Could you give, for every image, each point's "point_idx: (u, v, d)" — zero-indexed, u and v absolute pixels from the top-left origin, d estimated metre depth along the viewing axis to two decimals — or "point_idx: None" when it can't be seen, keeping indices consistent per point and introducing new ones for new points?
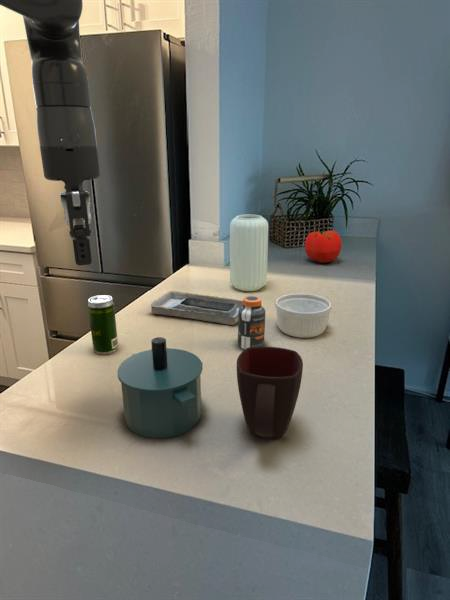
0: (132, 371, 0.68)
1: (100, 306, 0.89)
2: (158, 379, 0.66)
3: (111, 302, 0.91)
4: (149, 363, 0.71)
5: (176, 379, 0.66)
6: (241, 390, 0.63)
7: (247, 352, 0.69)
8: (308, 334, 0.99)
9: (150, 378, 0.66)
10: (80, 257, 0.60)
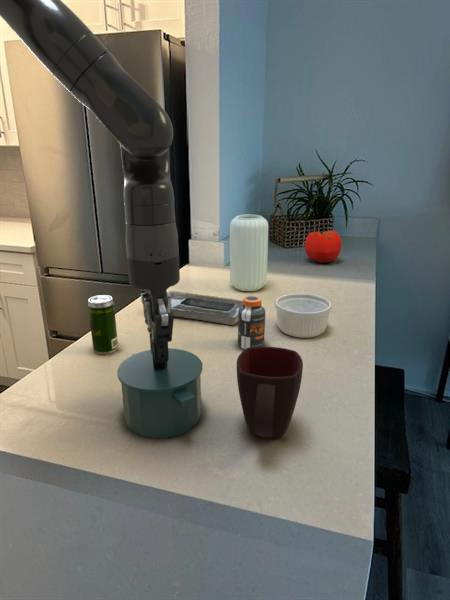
0: (132, 371, 0.68)
1: (100, 306, 0.89)
2: (158, 379, 0.66)
3: (111, 302, 0.91)
4: (149, 363, 0.71)
5: (176, 379, 0.66)
6: (241, 390, 0.63)
7: (247, 352, 0.69)
8: (308, 334, 0.99)
9: (150, 378, 0.66)
10: (160, 357, 0.66)
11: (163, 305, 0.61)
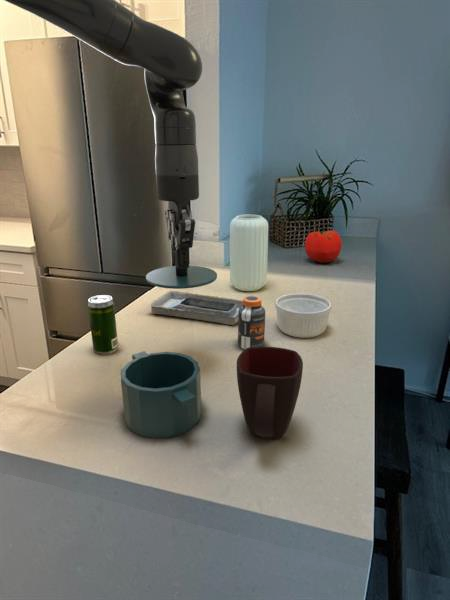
0: (158, 277, 0.81)
1: (100, 306, 0.89)
2: (181, 281, 0.79)
3: (111, 302, 0.91)
4: (172, 273, 0.84)
5: (196, 281, 0.79)
6: (241, 390, 0.63)
7: (247, 352, 0.69)
8: (308, 334, 0.99)
9: (174, 280, 0.79)
10: (182, 263, 0.79)
11: (186, 214, 0.74)
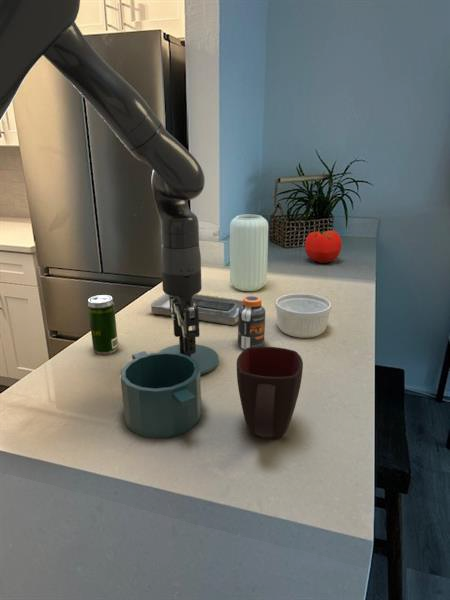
0: None
1: (100, 306, 0.89)
2: None
3: (111, 302, 0.91)
4: None
5: None
6: (241, 390, 0.63)
7: (247, 352, 0.69)
8: (308, 334, 0.99)
9: None
10: (189, 349, 0.83)
11: (189, 304, 0.80)
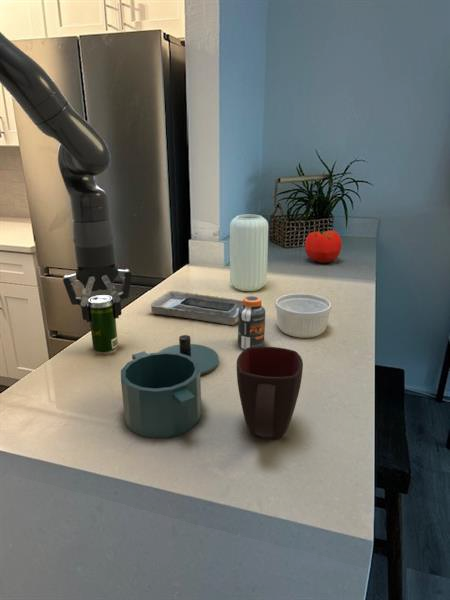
0: None
1: (100, 306, 0.89)
2: None
3: (111, 302, 0.91)
4: None
5: None
6: (241, 390, 0.63)
7: (247, 352, 0.69)
8: (308, 334, 0.99)
9: None
10: None
11: (74, 274, 0.87)
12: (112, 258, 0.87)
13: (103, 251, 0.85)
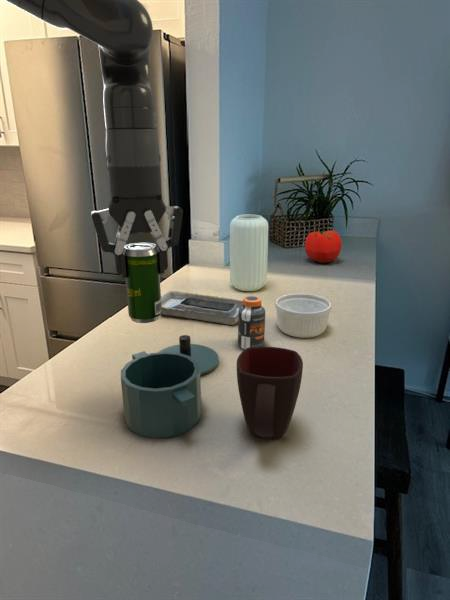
0: None
1: (142, 254, 0.65)
2: None
3: (155, 250, 0.67)
4: None
5: None
6: (241, 390, 0.63)
7: (247, 352, 0.69)
8: (308, 334, 0.99)
9: None
10: (116, 268, 0.67)
11: (107, 209, 0.63)
12: (159, 186, 0.63)
13: (149, 174, 0.61)
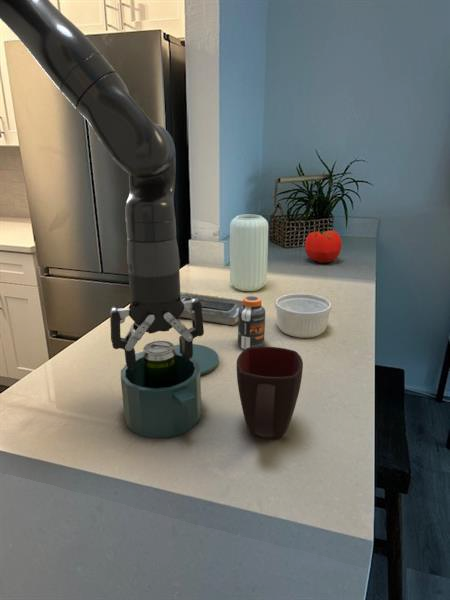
0: None
1: (161, 358, 0.66)
2: None
3: (173, 352, 0.68)
4: None
5: None
6: (241, 390, 0.63)
7: (247, 352, 0.69)
8: (308, 334, 0.99)
9: None
10: None
11: (127, 309, 0.64)
12: (178, 290, 0.64)
13: (169, 281, 0.62)
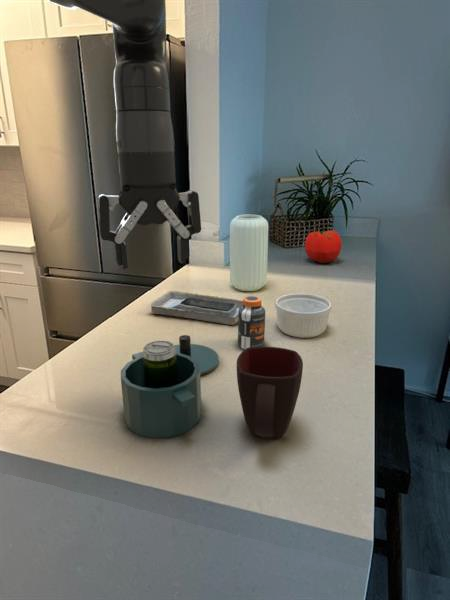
0: None
1: (161, 358, 0.66)
2: None
3: (173, 352, 0.68)
4: None
5: None
6: (241, 390, 0.63)
7: (247, 352, 0.69)
8: (308, 334, 0.99)
9: None
10: (116, 259, 0.62)
11: (117, 196, 0.58)
12: (173, 174, 0.58)
13: (163, 160, 0.56)
